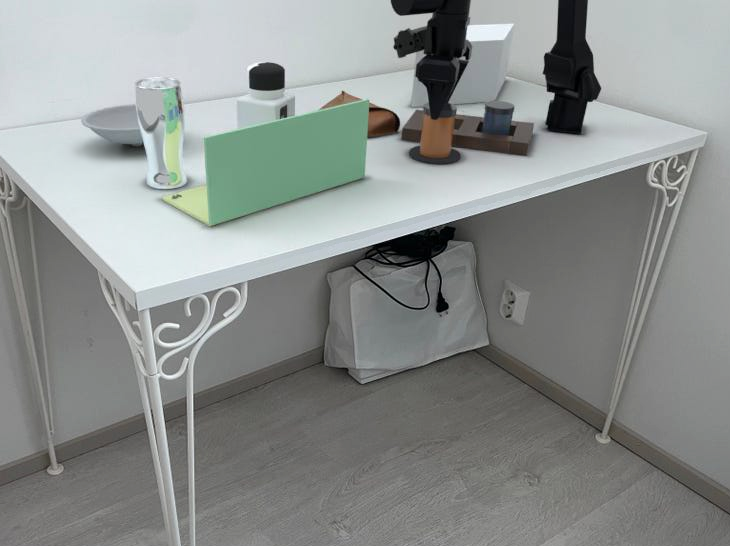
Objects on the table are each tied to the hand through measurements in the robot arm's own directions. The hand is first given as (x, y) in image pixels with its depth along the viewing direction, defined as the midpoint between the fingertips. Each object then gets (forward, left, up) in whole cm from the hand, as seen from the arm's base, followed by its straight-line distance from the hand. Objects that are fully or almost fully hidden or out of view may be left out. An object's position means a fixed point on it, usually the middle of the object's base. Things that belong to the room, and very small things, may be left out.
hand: (439, 112), depth 126 cm
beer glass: (+37, +28, -8) cm, 47 cm away
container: (+30, +3, -8) cm, 31 cm away
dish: (+50, +14, -8) cm, 53 cm away
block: (+2, -44, -8) cm, 44 cm away
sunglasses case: (+18, -13, -8) cm, 23 cm away
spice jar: (-9, -13, -8) cm, 17 cm away
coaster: (0, 0, -8) cm, 8 cm away
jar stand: (-4, -13, -8) cm, 15 cm away
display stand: (+21, +25, -8) cm, 34 cm away
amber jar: (0, 0, -7) cm, 7 cm away
